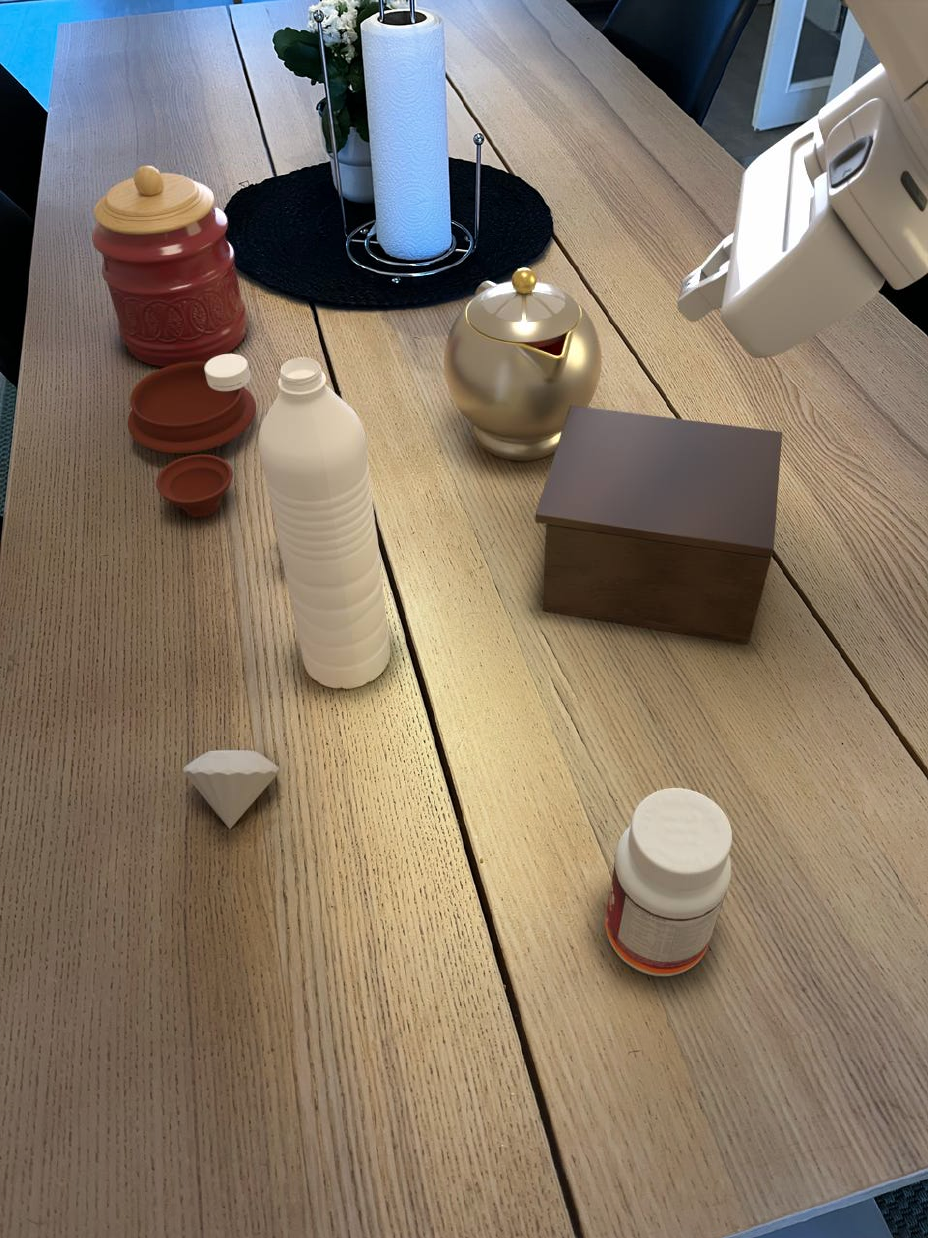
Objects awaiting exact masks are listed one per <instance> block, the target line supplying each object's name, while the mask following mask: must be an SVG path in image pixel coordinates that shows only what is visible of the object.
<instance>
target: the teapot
mask: <svg viewBox="0 0 928 1238" xmlns="http://www.w3.org/2000/svg"><path fill="white" fill-rule="evenodd" d="M537 279H538V277H537V275H536V273H535V272H534V271H533V270H532V269H530V268H528V267H521V268H517V270H516V271H514V273H513V274H512V276H511V280H509V281H504V282H501V283H495V282H493V281H490V280H485V281H483V282H481V283H480V285H478V287H477V288H476V290H475V292H474V297H473V298H472V299H471V300H470V301H469V302H467V304H466V305H465V306H464V307H463V308H462V310H461V311H460V312H459V314H458V315H457V317H456V319H455V320H454V322H453V323H452V326H451V327H450V330H449V333H448V335H447V339H446V342H445V347H444V348H445V349H444V354H443V370H444V377H445V382H446V386H447V389H448V391H449V395H450V397H451V398H452V401H453V402H454V404H455V406H456V407H457V410H459V412H460V413H461V414H462V415H463V417H464V418H465V419H466V420H467V421H468V422H469V423H470V424H472V432H473V436H474V438H475V440H476V442H477V443H478V444H479V446H480V447H481V448H482V449H483V450H485V451H486V452H488V453H489V454H491V455H493V456H495V457H498V458H500V459H504V460H509V461H515V462H516V461H517V462H518V461H519V462H524V461H525V462H526V461H535V460H539V459H543V458H545V457H548V456H549V455H552V454H555V451H556V448H557V445H558V442H559V439H560V435H561V432H562V429H563V426H564V423H565V420H566V416H567V413H568V410H569V407H570V405H573V406H581V407H589V405H590V403H591V401H592V400H593V398H594V397H595V393H596V391H597V390H598V386H599V382H600V378H601V373H602V366H603V365H602V364H603V361H602V360H603V359H602V356H603V355H602V346H601V341H600V338H599V333H598V331H597V329H596V327H595V324H594V323H593V320H592V318H591V317H590V315H589V314H588V312H587V311H586V310H585V308H584V307H583V306H582V305H581V304H580V303H579V301H578V300H576V299H575V298H574V297H573V296H572V295H570V294H569V293H567V292H566V291H564V290H563V289H561V288H560V287H558V286H556V285H555V286H554V285H553V284H551V283H550V284H549V283H547V282H544V281H539V280H537Z"/></svg>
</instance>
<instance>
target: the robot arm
mask: <svg viewBox="0 0 928 1238" xmlns="http://www.w3.org/2000/svg"><path fill="white" fill-rule="evenodd" d="M838 1H839V2H840V3H841V6H843V7H846V8H847V9H848V10H849V11H850V13H851V15H852V17H853V18H854V20H855V21H856V23H857V25H858V27H859V28H860V30H861V32H862V33H863V35H864V37H865V39H866V40H867V42H868V44H869V45H870V47H871V49H872V51H873V52H874V54H875V56H876V57H877V59H878V60H879V63H878V64H877V65H875V66H874V67H873V68H872V69H870V70H869V71H867V73H865V74H864V75H863V76H861V77H860V78H859V79H857V80H856V81H855V82H854V83H853V84H851V85H850V86H849V87H847V88H846V89H845V90H843V91H842V92H841V93H840V94H838V95H837V96H836V97H835V98H833V99H832V100H831V101H829V102H828V103H827V104H825V105H824V106H823V107H822V108H820V110H819V111H818V114H817V115H815V116H813V117H811V119H809V120H808V121H806V122H804V123H803V124H802V125H800V126H799V127H797V128H796V129H794V130H793V131H791V132H790V133H789V134H787V135H786V136H784V138H782V139H781V140H779V141H777V142H776V143H775V144H773V145H772V146H771V147H769V148H768V149H767V150H765V151H764V152H763V153H762V154H760V155H759V156H757V158H756V159H754V160H753V161H752V162H751V164H750V165H749V166H748V167H747V168H746V170H745V171H744V172H743V173H742V176H741V177H742V178H741V184H740V192H739V197H738V203H737V210H736V214H735V215H736V216H735V221H734V222H735V223H734V229H733V232H732V233H731V234H729V235H728V236H726V237H725V238H724V239H723V240H722V241H721V242H720V243H719V244H718V246H717V247H715V249H714V250H713V251H712V252H711V254H709V256H708V257H707V258H706V259H705V260H704V261H703V263H702V264H701V265H700V266H698V267H697V268H696V269H695V270H693V271H692V272H690V273H689V274H688V275H686V276H685V277H684V278H683V279H682V280H681V286H680V290H679V296H678V299H677V303H676V305H677V306H676V307H677V310H678V311H679V312H680V314H682V315H683V316H684V318H685V319H686V320H687V321H689V322H690V323H695V322H698V321H700V320H701V319H702V318H704V317H705V316H707V315H708V314H710V313H711V312H713V311H714V310H719V309H721V310H720V320H721V322H722V324H723V325H724V327H726V329H727V330H728V332H729V333H730V334H731V335H732V337H734V339H735V340H736V341H737V342H738V344H740V346H741V347H742V348H743V349H744V350H745V352H746V353H747V354H748V355H749V356H751V357H752V358H754V359H764V358H765V359H766V358H772V357H777V356H778V355H779V356H780V355H781V354H784V353H786V352H788V351H790V350H791V349H794V348H795V347H797V346H799V345H801V344H802V343H804V342H806V341H808V340H810V339H811V338H813V337H815V336H817V335H818V334H820V333H822V332H824V331H825V330H827V329H829V328H830V327H832V326H833V325H835V324H837V323H839V322H840V321H842V320H843V319H845V318H847V317H849V316H850V315H851V314H853V313H854V312H856V311H858V310H859V309H861V308H862V307H864V306H865V305H867V304H868V302H870V301H871V300H872V299H873V298H874V297H875V296H876V295H877V294H878V293H879V291H881V289H882V287H883V285H884V284H885V281H887V282H888V284H889V286H890V287H892V288H893V289H894V290H897V291H898V290H902V289H904V288H906V287H908V286H911V285H912V284H913V283H915V282H917V281H918V280H920V279H922V278H923V277H924V276H925V275H927V274H928V0H838Z"/></svg>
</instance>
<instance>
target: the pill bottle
mask: <svg viewBox="0 0 928 1238" xmlns="http://www.w3.org/2000/svg"><path fill="white" fill-rule="evenodd" d="M732 844H733V832H732V826H731V824H730V821H729V819H728V817H727V815H726V813H725V812H724V811H723V810H722V808H721V807H720V806H719V805H718V804H717V803H716V802H715V801H714V800H712V799H711V798H709V797H708V796H707V795H704V794H703V793H701V792H698V791H696V790H692V789H689V788H682V787H671V788H670V787H669V788H664V789H660V790H657V791H655V792H653V793H649V795H647V796H646V797H645V798H643V799H642V800H641V801H640V803H639V804H638V805H637V807H636V808H635V810H634V812H633V814H632V819H631V823H630V824H629V826H627V828H626V829H625V830H624V832H623V833H622V835H621V836H620V839H619V841H618V844H617V846H616V851H615V855H614V861H613V862H614V864H613V871H612V876H611V880H610V881H611V882H610V887H609V892H608V899H607V903H606V904H607V905H606V910H605V911H606V912H605V918H604V919H605V920H604V921H605V922H604V923H605V930H606V936H607V938H608V942H609V943H610V945H611V947H612V948H613V950H614V952H615V953H616V954H617V956H618V957H619V958H620V959H621V960H622V961H623V962H625V963H626V964H627V965H628V966H630V967H631V968H633V969H635V970H636V971H639V972H640V973H644V974H647V975H650V976H653V977H672V976H676V975H679V974H682V973H685V972H687V971H689V970H690V969H692V968H694V967H695V965H697V964H698V963H699V962H700V961H701V959H702V958H703V957H704V955H705V954H706V952H707V950H708V947H709V944H710V942H711V938H712V935H713V933H714V930H715V926H716V924H717V922H718V921H717V920H718V917H719V915H720V912H721V909H722V906H723V904H724V900H725V897H726V895H727V894H728V893H727V892H728V889H729V886H730V883H731V878H732V861H731V857H730V852H731V850H732V849H731V848H732V846H733V845H732Z"/></svg>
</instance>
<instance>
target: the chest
mask: <svg viewBox="0 0 928 1238" xmlns="http://www.w3.org/2000/svg"><path fill="white" fill-rule="evenodd" d="M771 562H772V557H771V558H769V557H763V556H756V555H749V554H743V553H736V552H729V551H723V550H716V549H709V548H703V547H696V546H689V545H682V544H676V543H669V542H662V541H656V540H649V539H642V538H636V537H629V536H622V535H615V534H609V533H602V532H595V531H589V530H582V529H575V528H569V527H562V526H555V525H549V524H545V539H544V560H543V563H544V564H543V582H542V602H541V603H542V605H541V606H542V607H541V610H542V612H549V613H555V614H561V615H567V616H573V617H579V618H586V619H591V620H597V621H604V622H608V623H609V622H610V623H616V624H621V625H627V626H634V627H638V628H639V627H640V628H645V629H651V630H656V631H657V630H658V631H663V632H669V633H675V634H680V635H681V634H682V635H687V636H692V637H699V638H706V639H711V640H716V641H717V640H718V641H724V642H728V643H735V644H742V645H749V643H750V640H751V636H752V633H753V629H754V625H755V622H756V618H757V614H758V611H759V607H760V604H761V600H762V595H763V592H764V588H765V584H766V581H767V577H768V572H769V569H770V566H771Z"/></svg>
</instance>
